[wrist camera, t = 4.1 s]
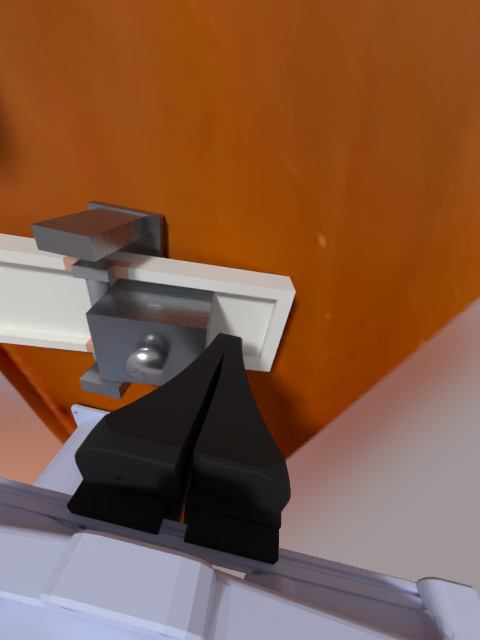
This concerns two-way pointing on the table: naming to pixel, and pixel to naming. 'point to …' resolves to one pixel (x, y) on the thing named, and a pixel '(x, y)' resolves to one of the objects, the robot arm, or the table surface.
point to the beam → (98, 277)
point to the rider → (149, 330)
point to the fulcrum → (102, 253)
